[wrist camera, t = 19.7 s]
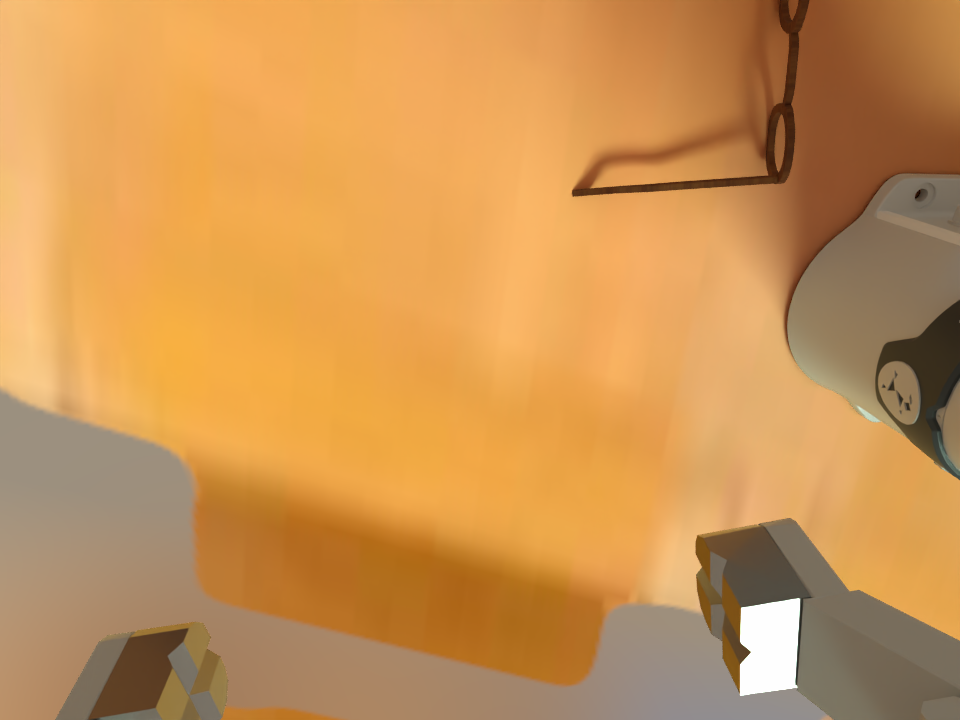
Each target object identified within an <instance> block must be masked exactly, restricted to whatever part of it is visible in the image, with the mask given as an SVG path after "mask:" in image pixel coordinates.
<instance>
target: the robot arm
mask: <svg viewBox="0 0 960 720" xmlns="http://www.w3.org/2000/svg"><path fill="white" fill-rule="evenodd" d="M920 189H921V193H920V195H919V196H918V197H917V198H916V199H915V194H916V193H917V191H918V190H920ZM787 332H788V341H789V345H790V349H791V352H792V355H793V357H794V359H795V361H796V363H797V364H798V366H799V367H800V369H801V370H802V371H803V372H804V373H805V374H806V375H807V376H808V377H809V378H810V379H811V380H813V381H814V382H816V383H817V384H819V385H821V386H823V387H825V388H827V389H829V390H832V391H833V392H835V393H837V394H839V395H841V396H843V397H845V398H846V399H847V400H848V402H849V403H850V404H851V406H852V407H853V408H854V409H855V410H856V412H858V413H859V414H860V415H861V416H863V417H864V418H866V419H868V420H869V421H872V422H883V423H884V424H886V425H888V426H889V427H891V428H892V429H894V430H895V431H897V432H898V433H900V434H901V435H903V436H904V437H906V438H908V439H909V440H910V441H911V442H912V443H913V444H914V445H915V446H917V447H918V448H919V449H920V450H921V451H923V452H924V453H925V454H926V455H927V456H929V457H930V458H931V459H932V460H934V463H935V464H936V465H937V466H939V467H940V468H941V469H943V470H945V471H947V472H948V473H950V474H952V475H953V476H955V477H956V478H958V479H959V480H960V175H955V174H910V173H904V174H898V175H895V176H893V177H891V178H890V179H889V180H887V181H886V182H885V183H884V184H883V185H882V187H881V188H880V189H879V190H878V192H877V193H876V194H875V196H874V197H873V199H872V200H871V202H870V203H869V205H868V206H867V208H866V209H865V211H864V212H863V214H862V215H861V216H860V217H859V218H858V219H857V220H856V221H855V222H854V223H852V224H851V225H850V226H849V227H847V228H846V229H845V230H844V231H842V232H841V233H840V234H838V235H837V236H836V237H835V238H834V239H832V240H831V241H830V242H829V243H828V244H827V245H826V246H825V247H824V248H823V249H822V250H821V251H820V252H819V253H818V255H817V256H816V257H815V258H814V259H813V261H812V262H811V263H810V265H809V266H808V268H807V269H806V271H805V272H804V274H803V276H802V277H801V279H800V281H799V283H798V285H797V287H796V290H795V292H794V295H793V298H792V301H791V304H790V309H789V314H788V323H787ZM696 555H697V557H698V560H699V562H700V564H701V566H702V568H701V569H700V571H699V572H698V573H697V575H696V578H697V592H698V596H699V601H700V606H701V610H702V612H703V615H704V618H705V620H706V623H707V625H708V628H709V630H710V632H711V634H712V635H713V636H715V637H717V638H718V639H720V640H721V641H722V650H723V660H724V662H725V664H726V666H727V668H728V670H729V672H730V674H731V676H732V679H733V681H734V683H735V685H736V687H737V689H738V691H739V693H740V695H745V694H753V693H760V692H767V691H774V690H781V689H788V688H795V687H797V691H798V692H800V693H801V694H802V695H804V696H805V697H806V698H807V699H809V700H810V701H811V702H812V703H814V704H815V705H816V706H817V707H819V708H820V709H821V710H822V711H824V712H825V713H826V714H827V715H829V716H830V717H831V718H832V719H834V720H960V641H959V640H957V639H955V638H953V637H951V636H949V635H947V634H945V633H943V632H941V631H939V630H937V629H935V628H933V627H931V626H929V625H927V624H925V623H923V622H921V621H919V620H917V619H915V618H913V617H911V616H909V615H908V614H906V613H904V612H902V611H900V610H898V609H896V608H894V607H892V606H890V605H888V604H886V603H884V602H882V601H880V600H878V599H876V598H874V597H872V596H870V595H868V594H866V593H864V592H862V591H860V590H857V591H849V590H848V589H847V588H846V586H845V585H844V584H843V582H842V581H841V580H840V578H839V577H838V576H837V574H836V573H835V572H834V571H833V569H832V568H831V567H830V565H829V564H828V563H827V561H826V560H825V559H824V557H823V556H822V555H821V554H820V552H819V551H818V550H817V548H816V547H815V546H814V544H813V543H812V542H811V540H810V539H809V538H808V537H807V535H806V534H805V533H804V531H803V530H802V529H801V527H800V526H799V525H798V523H797V522H796V521H794V520H792V519H791V518H787V519H782V520H776V521H771V522H766V523H760V524H759V525H750V526H745V527H739V528H734V529H728V530H723V531H717V532H712V533H706V534H701V535H697V539H696ZM210 638H211V636H210V635H209V633H208V631H207V629H206V627H205V625H204V624H203V623H200V622H191V623H185V624H177V625H171V626H164V627H157V628H150V629H144V630H137V631H136V632H128V633H121V634H113V635H107V636H106V637H105V638H104V639H102V640H101V641H100V642H99V643H98V644H97V646H96V648H95V650H94V652H93V653H92V655H91V657H90V659H89V660H88V662H87V664H86V666H85V667H84V669H83V671H82V673H81V675H80V677H79V678H78V680H77V682H76V684H75V685H74V687H73V689H72V691H71V693H70V695H69V696H68V698H67V700H66V702H65V703H64V705H63V707H62V709H61V711H60V712H59V714H58V716H57V718H56V719H55V720H220V719H221V718H222V716H223V713H224V709H225V706H226V702H227V691H228V679H227V674H226V669H225V666H224V663H223V661H222V659H221V657H220V656H218V655H217V654H215V653H213V652H212V651H210V650H208V649H207V647H208V644H209V641H210Z"/></svg>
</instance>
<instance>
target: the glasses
mask: <svg viewBox="0 0 960 720" xmlns="http://www.w3.org/2000/svg"><path fill="white" fill-rule="evenodd" d="M808 4H809V0H799V2H798V7H797V10H796V14H795V16H794V18H793V20H791V18H790V15H789V8H788V0H780V4H779V16H780V23H781V27H782V29H783V30H784V31H785V32H786V33H788V34H789V54H788V64H787V75H786V85H785V93H784V99H783V103H780V104H777V105H776V106H774V108H773V110H772V112H771V116H770V120H769V128H768V139H767V150H766V163H767V171H768V175H769V176H756V177H741V178H727V179H713V180H698V181H684V182H670V183H658V184H645V185H630V186H616V187H603V188H591V189H582V190H574V191H572V193H573V196H586V195H600V194H613V193H634V192H653V191H668V190H682V189H697V188H712V187H727V186H741V185H756V184H771V183H774V184H781V183H784V182H785V181H786V180H787V178H788V176H789V173H790V169H791V165H792V160H793V153H794V143H795V123H794V113H793V108H792V106H791V103H792V99H793V95H794V89H795V81H796V71H797V61H798V50H799V36H798V32H799V31H800V30H801V28H802V25H803V22H804V19H805V16H806V12H807V8H808ZM781 114H782V115H783V118H784V123H785V151H784V158H783V163H782V167H781V169H780V171H779V172H778V171H777V168H776V165H775V157H774V145H775V134H776V127H777V123H778V120H779V117H780V115H781Z"/></svg>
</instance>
